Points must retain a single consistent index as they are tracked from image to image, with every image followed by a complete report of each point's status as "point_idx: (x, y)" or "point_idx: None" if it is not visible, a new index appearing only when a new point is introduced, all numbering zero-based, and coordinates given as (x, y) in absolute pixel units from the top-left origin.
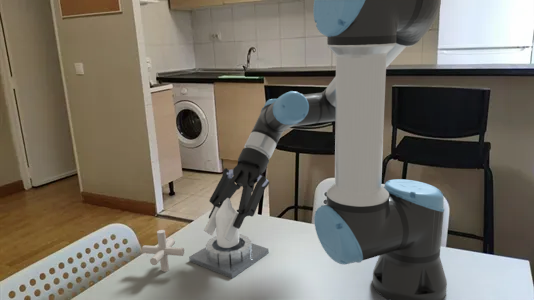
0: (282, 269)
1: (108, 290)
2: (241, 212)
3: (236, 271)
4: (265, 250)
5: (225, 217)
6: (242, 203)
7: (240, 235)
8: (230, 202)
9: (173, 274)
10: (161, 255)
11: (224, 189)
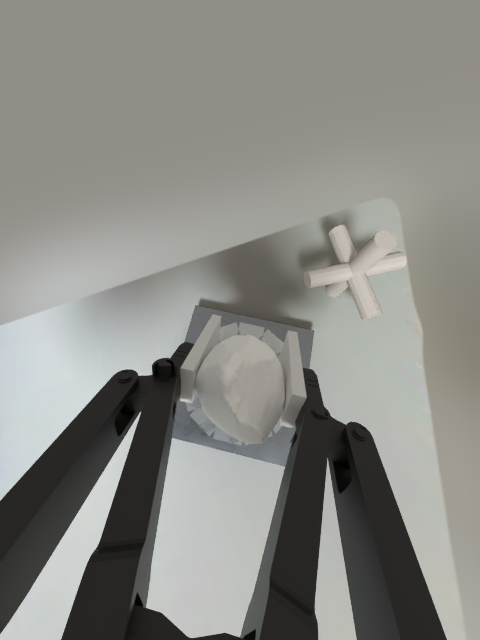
0: (112, 372)
1: (369, 213)
2: (158, 371)
3: (192, 318)
4: None
5: (223, 341)
6: (151, 407)
7: (232, 437)
8: (215, 389)
9: None
10: (338, 248)
11: (354, 574)
